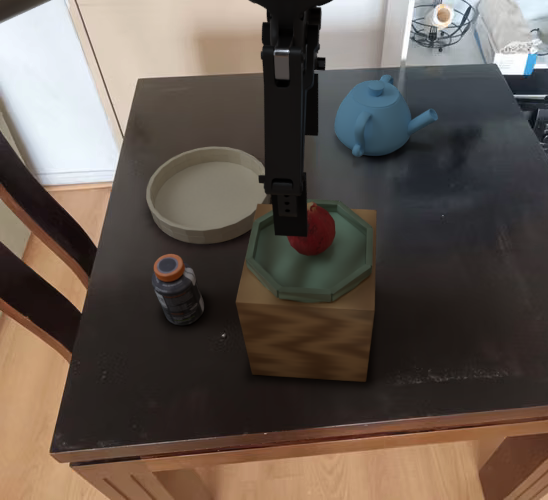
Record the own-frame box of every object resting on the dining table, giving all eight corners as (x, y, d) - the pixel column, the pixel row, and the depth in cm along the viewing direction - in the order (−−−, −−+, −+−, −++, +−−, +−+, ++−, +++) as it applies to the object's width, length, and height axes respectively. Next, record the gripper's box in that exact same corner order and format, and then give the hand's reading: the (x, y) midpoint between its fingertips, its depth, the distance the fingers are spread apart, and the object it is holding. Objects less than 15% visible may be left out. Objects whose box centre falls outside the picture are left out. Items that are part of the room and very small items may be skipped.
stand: (252, 374, 75) (233, 292, 60) (268, 283, 86) (255, 193, 70) (365, 382, 75) (376, 301, 60) (368, 289, 85) (377, 199, 70)
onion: (325, 274, 64) (325, 229, 58) (280, 261, 65) (276, 216, 59) (341, 239, 67) (342, 193, 61) (298, 228, 68) (295, 182, 62)
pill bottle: (210, 297, 84) (196, 251, 75) (196, 329, 80) (181, 284, 71) (173, 291, 84) (156, 244, 76) (159, 323, 81) (138, 277, 72)
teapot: (353, 103, 117) (355, 49, 107) (442, 124, 112) (453, 70, 103) (318, 159, 105) (317, 104, 95) (417, 185, 101) (427, 130, 91)
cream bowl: (136, 240, 91) (130, 226, 88) (169, 157, 105) (164, 143, 102) (261, 247, 90) (259, 233, 88) (277, 163, 104) (276, 149, 101)
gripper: (340, 23, 25) (332, 289, 42) (353, -134, 41) (344, 101, 58) (182, 17, 25) (235, 284, 42) (256, -138, 42) (274, 98, 58)
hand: (298, 178), depth 50 cm, fingers open, 13 cm apart
